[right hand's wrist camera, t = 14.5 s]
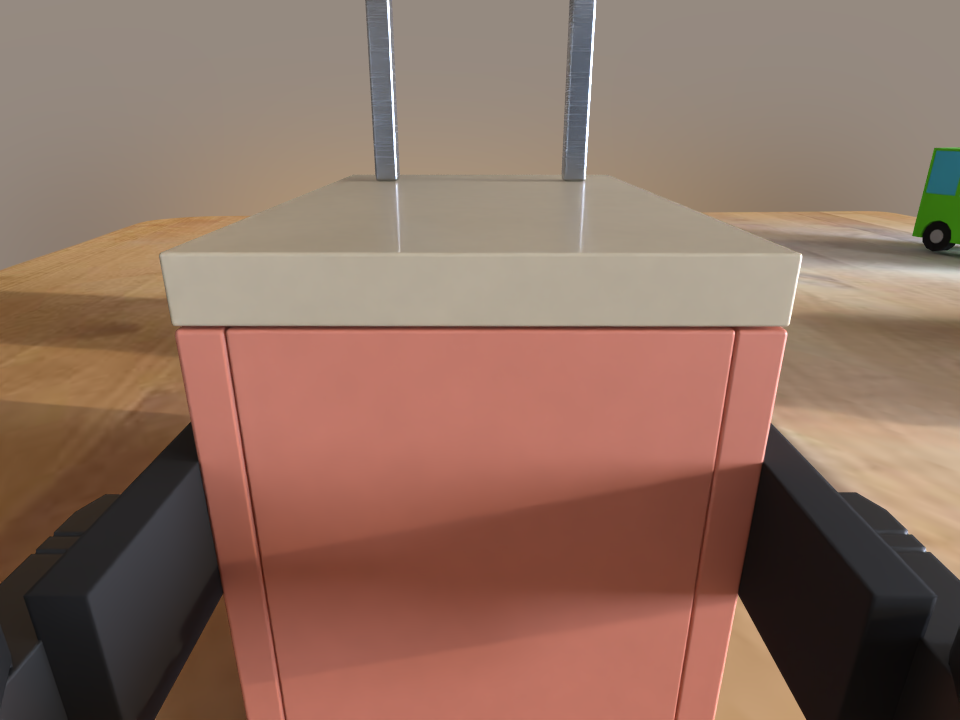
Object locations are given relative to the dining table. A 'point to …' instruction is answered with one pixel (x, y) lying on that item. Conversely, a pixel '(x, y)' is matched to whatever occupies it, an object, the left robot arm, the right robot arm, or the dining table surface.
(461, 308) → the lid
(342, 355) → the chest
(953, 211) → the toy car
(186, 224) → the dining table surface
